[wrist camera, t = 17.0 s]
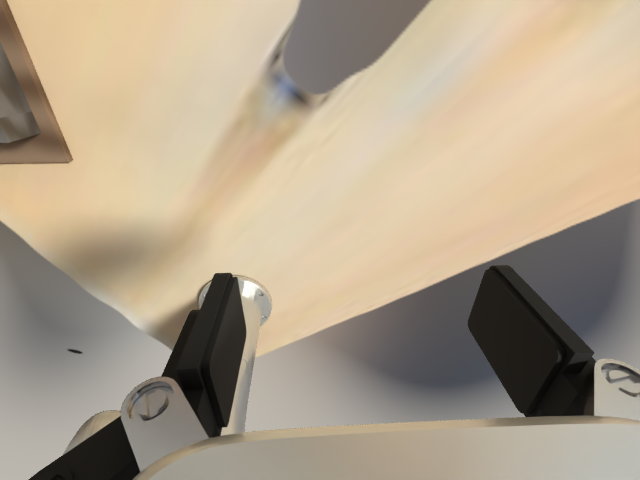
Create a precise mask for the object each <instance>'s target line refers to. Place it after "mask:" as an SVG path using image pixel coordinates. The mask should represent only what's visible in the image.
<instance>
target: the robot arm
mask: <svg viewBox="0 0 640 480" xmlns="http://www.w3.org/2000/svg"><path fill="white" fill-rule="evenodd" d="M199 309H200V310H192V311H191V312H190V314H189V315H188V317H187V320H186V322H185V324H184V326H183V329H182V331H181V333H180V336H179V338H178V340H177V342H176V345H175V347H174V349H173V351H172V354H171V356H170V358H169V360H168V363H167V365H166V367H165V369H164V372H163V374H162V376H161V377H155V378H151V379H149V380H147V381H145V382H142V383H141V384H140V385H138V386H137V387H135V388H134V389H133V390H132V391H131V392H130V393H129V394H128V396H127V397H126V398H125V400H124V402H123V403H122V407H121V411H117V410H111V411H103V412H100V413H98V414H96V415H94V416H92V417H91V418H90V419H89V420H87V421H86V422H85V423H84V424H83V425H82V426H81V428H80V429H79V430H78V432H77V433H76V435H75V436H74V437H73V439H72V440H71V442H70V444H69V445H68V447H67V449H66V450H65V452H64V454H63V456H61V457H59V458H58V459H57V460H55V461H54V462H52V463H51V464H49V465H48V466H46V467H45V468H43V469H42V470H40V471H39V472H38V473H37V474H35V475H34V476H33V477H31V478H30V479H29V480H640V371H639V370H638V369H636V368H634V367H632V366H630V365H628V364H626V363H623V362H621V361H618V360H613V359H601V360H599V361H597V362H596V361H595V360H594V359H593V358H592V355H593V354H594V352H593V351H592V350H591V349H590V348H589V347H588V346H587V345H586V344H585V343H584V341H583V340H582V339H581V338H580V337H579V336H578V335H577V334H576V333H575V332H574V331H573V330H572V329H571V328H570V327H569V326H568V325H567V324H566V323H565V322H564V321H563V320H562V319H561V318H560V317H559V316H558V315H557V314H556V313H555V312H554V311H553V310H552V309H551V308H550V307H549V306H548V305H547V304H546V303H545V302H544V301H543V300H542V298H541V297H540V296H538V294H537V293H536V292H535V291H534V290H533V289H532V288H531V287H530V286H529V285H528V284H527V283H526V282H525V281H524V280H523V279H522V278H521V277H520V276H519V275H518V274H517V273H516V272H515V271H514V270H513V269H512V268H511V267H510V266H507V265H505V266H502V265H501V266H491V267H490V268H489V270H486V271H485V273H484V276H483V279H482V281H481V284H480V288H479V290H478V293H477V296H476V299H475V302H474V305H473V308H472V311H471V314H470V317H469V320H468V327H469V330H470V332H471V333H472V335H473V336H474V338H475V340H476V341H477V343H478V345H479V346H480V348H481V350H482V351H483V353H484V355H485V356H486V358H487V360H488V361H489V363H490V365H491V366H492V368H493V370H494V371H495V373H496V375H497V376H498V378H499V379H500V381H501V383H502V385H503V386H504V388H505V389H506V391H507V393H508V394H509V396H510V398H511V399H512V401H513V402H514V404H515V406H516V408H517V409H518V411H520V412H521V413H524V415H525V416H526V417H517V418H493V419H470V420H448V421H426V422H405V423H385V424H367V425H366V424H365V425H346V426H328V427H310V428H309V427H308V428H293V429H279V430H265V431H252V432H245V420H246V411H247V403H248V397H249V390H250V384H251V378H252V372H253V365H254V359H255V354H256V347H257V341H258V335H259V329H260V326H261V325H262V324H264V323H265V322H266V321H267V320H268V318H269V316H270V313H271V309H272V301H271V298H270V295H269V293H268V292H267V290H266V289H265V288H264V287H263V286H262V285H260V284H259V283H258V282H256V281H254V280H252V279H249V278H246V277H242V276H232V274H231V273H216V274H215V275H214V277H213V279H212V281H210V282H209V283H208V284H207V285H206V286H205V287H204V288H203V290H202V292H201V294H200V297H199Z"/></svg>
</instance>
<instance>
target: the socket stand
mask: <svg viewBox="0 0 640 480" xmlns="http://www.w3.org/2000/svg"><path fill="white" fill-rule="evenodd" d="M72 160H73V159H72V156H71V154H70V151H69V149H68V147H67V144H66V142H65V139H64V137H63V135H62V132H61V130H60V127H59V125H58V123H57V120H56V118H55V115H54V113H53V111H52V108H51V106H50V103H49V101H48V99H47V96H46V94H45V92H44V89H43V87H42V84H41V82H40V80H39V77H38V75H37V72H36V70H35V68H34V65H33V63H32V60H31V58H30V56H29V53H28V51H27V48H26V46H25V44H24V41H23V39H22V36H21V34H20V32H19V29H18V27H17V24H16V22H15V20H14V17H13V15H12V12H11V10H10V8H9V5H8V3H7V1H6V0H0V163H49V162H70V161H72Z"/></svg>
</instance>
